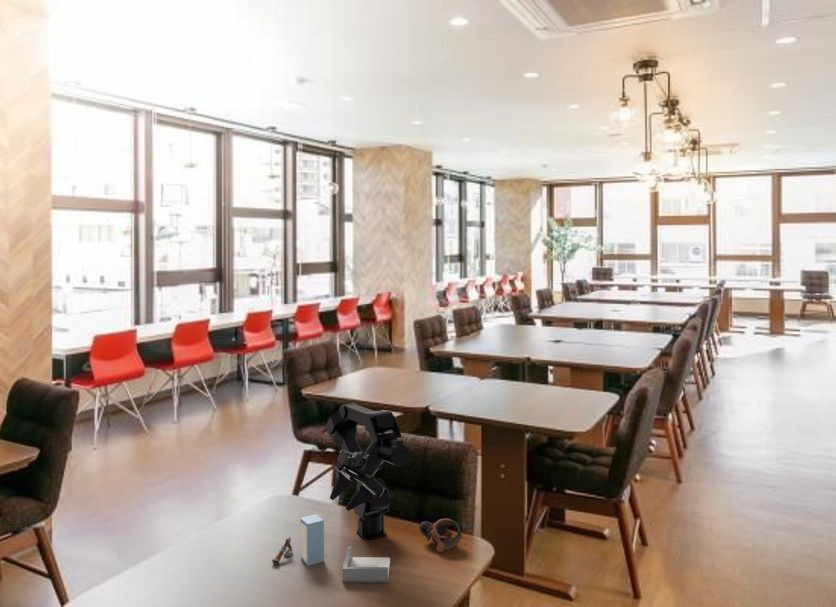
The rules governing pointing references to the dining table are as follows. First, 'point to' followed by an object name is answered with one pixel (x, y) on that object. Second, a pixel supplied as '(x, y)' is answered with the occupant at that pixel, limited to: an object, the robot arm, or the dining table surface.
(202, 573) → the dining table surface
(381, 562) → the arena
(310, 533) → the slate block
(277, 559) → the wooden post with brackets
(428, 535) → the pottery mug
